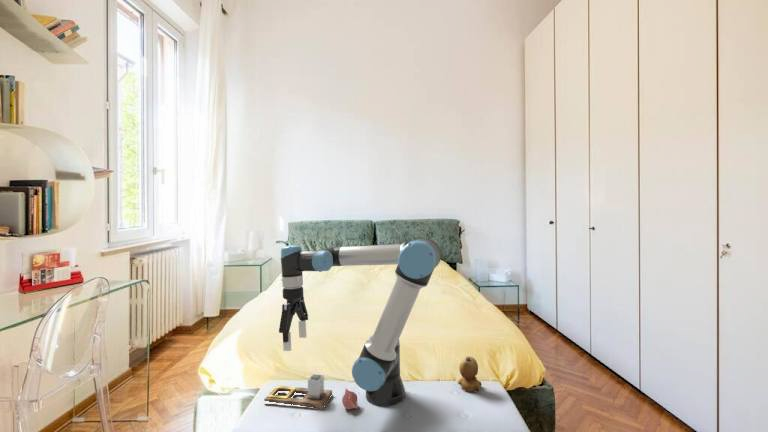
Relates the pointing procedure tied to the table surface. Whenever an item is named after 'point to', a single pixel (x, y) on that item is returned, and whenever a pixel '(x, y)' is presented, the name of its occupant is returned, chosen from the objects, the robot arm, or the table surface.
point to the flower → (349, 400)
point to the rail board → (297, 401)
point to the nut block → (316, 387)
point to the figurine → (469, 375)
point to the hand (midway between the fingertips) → (295, 343)
